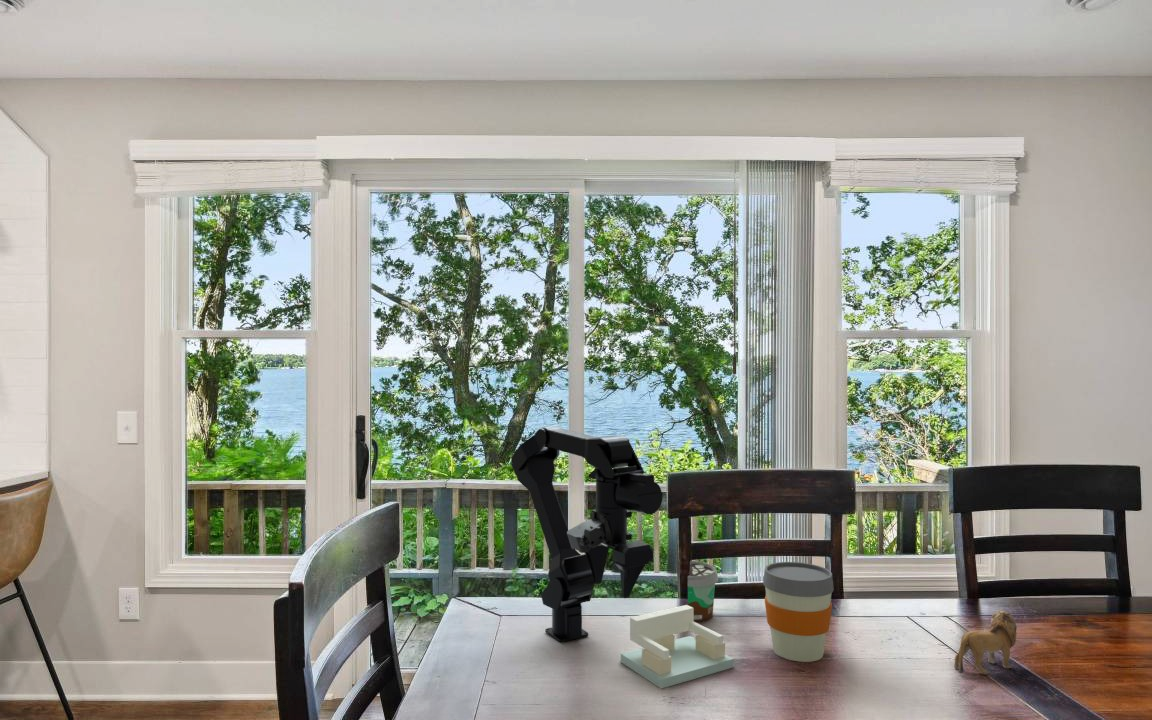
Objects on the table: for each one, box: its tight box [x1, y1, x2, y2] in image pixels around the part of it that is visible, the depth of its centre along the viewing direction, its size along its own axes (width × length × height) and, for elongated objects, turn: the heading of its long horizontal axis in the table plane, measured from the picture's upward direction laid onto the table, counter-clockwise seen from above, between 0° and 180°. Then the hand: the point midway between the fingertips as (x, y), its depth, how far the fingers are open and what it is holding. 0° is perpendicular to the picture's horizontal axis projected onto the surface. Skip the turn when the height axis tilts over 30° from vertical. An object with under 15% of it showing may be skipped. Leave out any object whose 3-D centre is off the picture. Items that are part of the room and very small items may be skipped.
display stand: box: [620, 634, 735, 689], centre depth 126 cm, size 12×16×4 cm
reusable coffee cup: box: [762, 561, 834, 663], centre depth 132 cm, size 13×12×15 cm
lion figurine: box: [953, 610, 1018, 675], centre depth 125 cm, size 15×5×9 cm, turn 119°
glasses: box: [629, 604, 724, 660], centre depth 126 cm, size 10×13×4 cm
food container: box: [687, 560, 719, 624], centre depth 150 cm, size 12×6×10 cm, turn 168°
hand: (611, 590), depth 130 cm, fingers open, 9 cm apart
